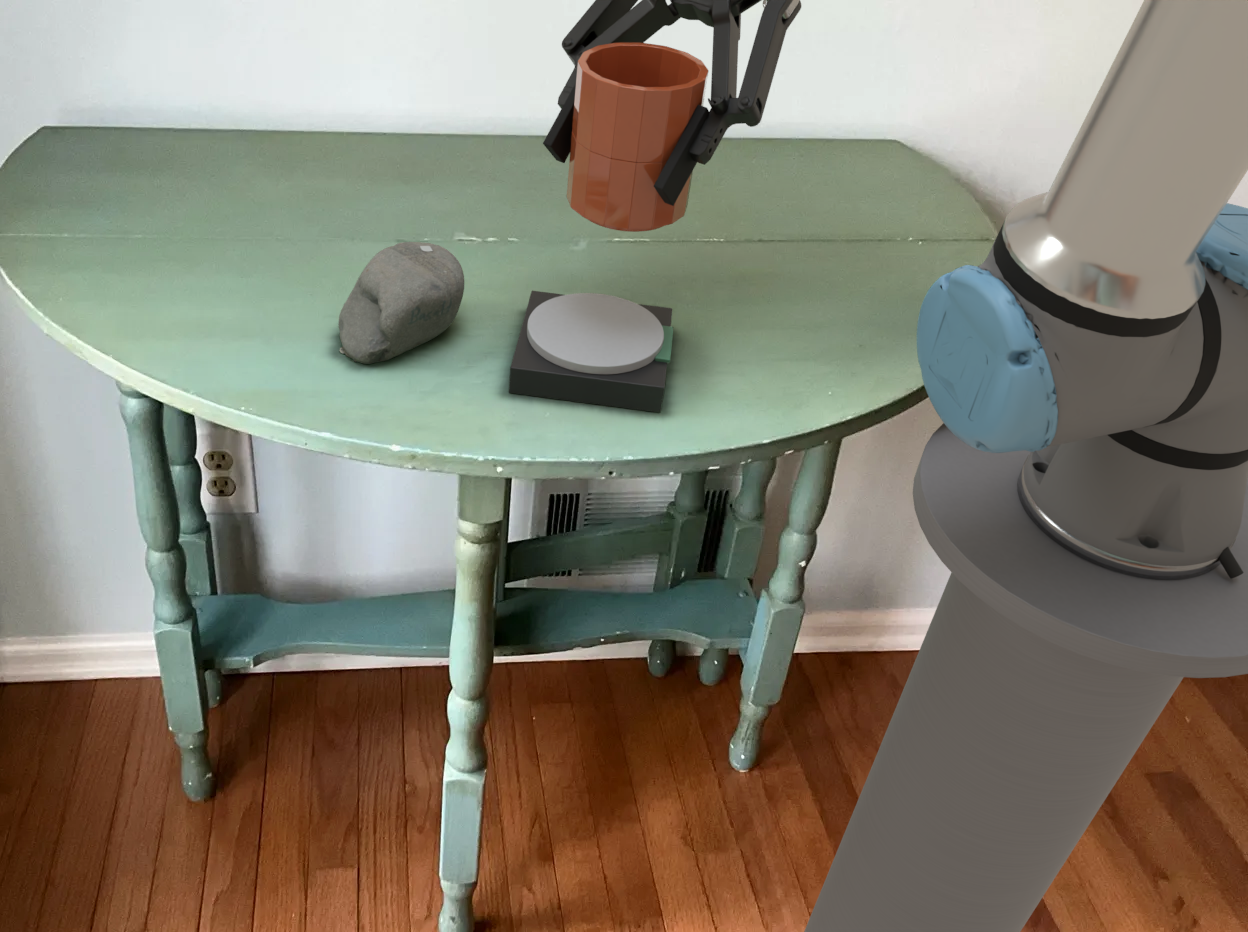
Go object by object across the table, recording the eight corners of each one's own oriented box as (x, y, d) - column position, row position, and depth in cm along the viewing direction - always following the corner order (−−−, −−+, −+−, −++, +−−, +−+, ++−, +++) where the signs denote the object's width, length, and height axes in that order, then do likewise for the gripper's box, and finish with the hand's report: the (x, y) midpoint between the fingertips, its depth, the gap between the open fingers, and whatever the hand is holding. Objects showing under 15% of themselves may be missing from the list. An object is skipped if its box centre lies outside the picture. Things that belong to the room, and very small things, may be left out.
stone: (311, 321, 99) (357, 212, 95) (395, 339, 105) (442, 237, 101) (361, 376, 94) (412, 262, 90) (447, 392, 100) (498, 286, 96)
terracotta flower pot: (709, 222, 91) (733, 78, 84) (610, 246, 87) (627, 98, 80) (639, 174, 97) (657, 35, 90) (544, 195, 93) (554, 52, 86)
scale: (671, 332, 101) (676, 299, 99) (663, 413, 93) (668, 379, 90) (529, 314, 102) (532, 281, 100) (508, 393, 93) (510, 358, 91)
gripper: (900, -32, 85) (747, 245, 86) (647, -97, 95) (512, 152, 96) (886, -101, 79) (721, 200, 79) (616, -164, 88) (471, 105, 89)
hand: (607, 174), depth 88 cm, fingers closed on terracotta flower pot, 9 cm apart
